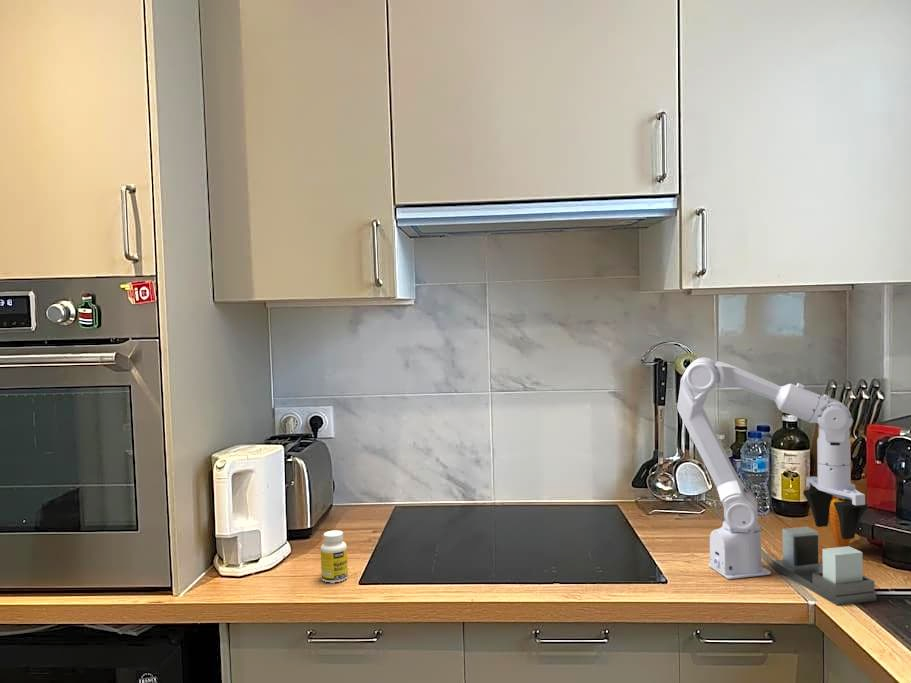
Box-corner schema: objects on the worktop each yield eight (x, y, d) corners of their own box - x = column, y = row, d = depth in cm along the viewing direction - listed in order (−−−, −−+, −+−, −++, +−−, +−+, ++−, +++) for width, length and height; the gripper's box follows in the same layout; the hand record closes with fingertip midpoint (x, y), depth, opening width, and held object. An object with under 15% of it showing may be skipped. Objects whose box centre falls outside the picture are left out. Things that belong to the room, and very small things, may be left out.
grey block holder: (836, 605, 130) (836, 558, 129) (772, 567, 148) (772, 527, 148) (876, 600, 131) (875, 554, 131) (807, 564, 150) (807, 523, 149)
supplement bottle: (335, 586, 148) (333, 538, 147) (316, 581, 151) (314, 534, 150) (353, 577, 152) (351, 531, 152) (334, 572, 155) (332, 527, 155)
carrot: (852, 548, 158) (851, 480, 157) (858, 556, 153) (857, 486, 152) (827, 547, 159) (826, 479, 158) (832, 554, 154) (831, 485, 154)
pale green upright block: (862, 590, 132) (862, 552, 132) (835, 593, 131) (835, 555, 131) (847, 582, 136) (847, 545, 136) (821, 585, 135) (821, 548, 135)
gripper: (879, 469, 133) (880, 542, 134) (827, 454, 148) (828, 519, 149) (845, 472, 132) (845, 545, 133) (796, 456, 147) (797, 522, 147)
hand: (834, 532), depth 141 cm, fingers open, 7 cm apart
